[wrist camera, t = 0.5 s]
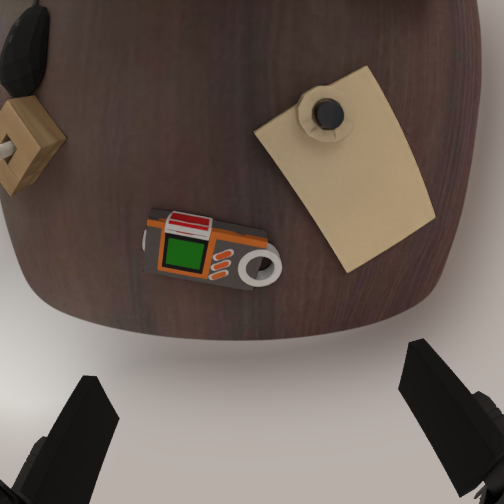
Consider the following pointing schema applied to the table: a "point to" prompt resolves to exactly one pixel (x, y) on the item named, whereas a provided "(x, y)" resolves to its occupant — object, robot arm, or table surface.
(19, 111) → the pen stand
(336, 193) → the plate
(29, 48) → the gaming mouse
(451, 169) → the table surface
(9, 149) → the stylus
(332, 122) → the button
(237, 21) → the table surface
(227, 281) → the electronic device
